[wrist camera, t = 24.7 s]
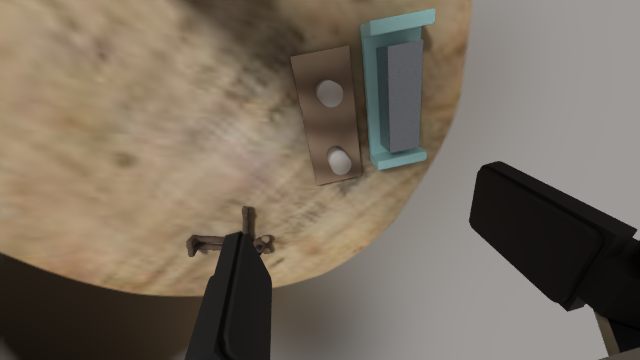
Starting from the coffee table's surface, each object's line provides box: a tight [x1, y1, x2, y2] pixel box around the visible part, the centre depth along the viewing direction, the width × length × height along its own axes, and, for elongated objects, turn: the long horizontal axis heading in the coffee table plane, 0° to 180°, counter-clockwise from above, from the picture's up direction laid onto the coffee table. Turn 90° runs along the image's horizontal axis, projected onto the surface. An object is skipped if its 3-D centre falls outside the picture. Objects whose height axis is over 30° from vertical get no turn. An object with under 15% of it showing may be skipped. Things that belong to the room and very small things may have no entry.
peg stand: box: [290, 45, 362, 185], centre depth 33 cm, size 20×8×6 cm, turn 10°
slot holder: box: [360, 8, 435, 170], centre depth 34 cm, size 20×8×4 cm, turn 10°
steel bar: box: [376, 39, 424, 153], centre depth 33 cm, size 14×4×4 cm, turn 10°
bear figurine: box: [186, 206, 271, 257], centre depth 43 cm, size 18×4×14 cm
